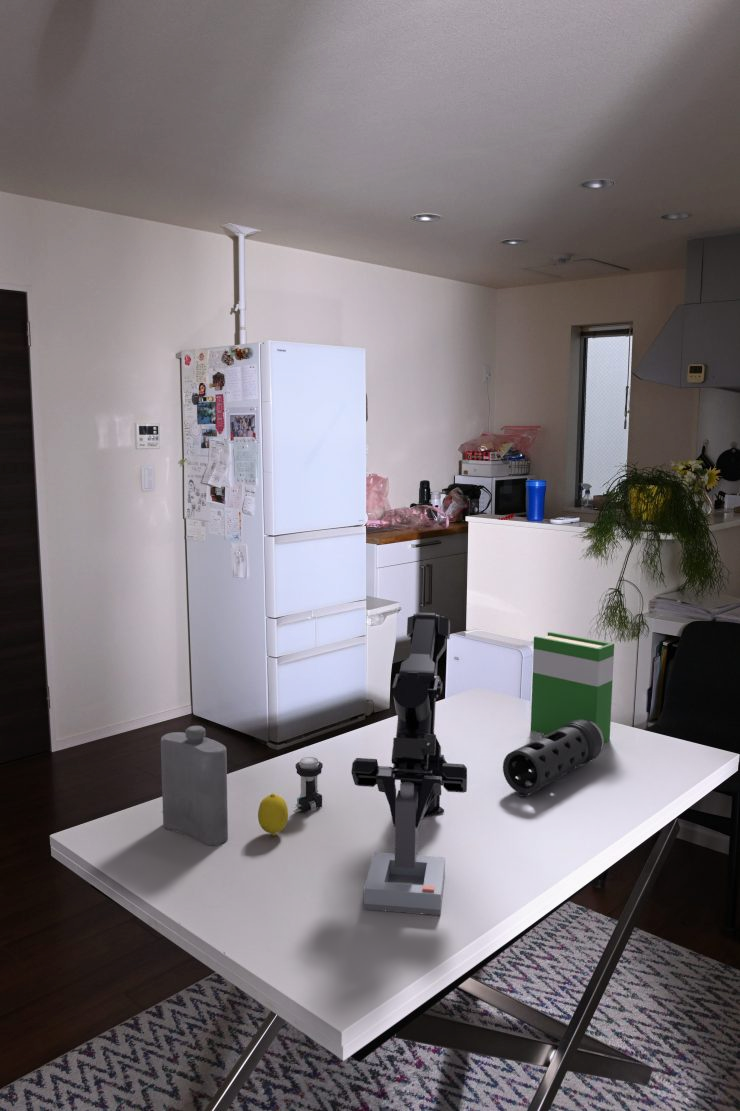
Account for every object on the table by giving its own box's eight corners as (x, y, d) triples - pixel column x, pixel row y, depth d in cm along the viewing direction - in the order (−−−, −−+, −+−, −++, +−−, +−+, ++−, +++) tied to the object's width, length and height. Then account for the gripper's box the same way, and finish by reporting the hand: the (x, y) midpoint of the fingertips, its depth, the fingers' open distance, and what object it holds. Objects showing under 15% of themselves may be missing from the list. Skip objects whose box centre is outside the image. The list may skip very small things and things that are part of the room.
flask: (236, 836, 161) (235, 732, 158) (213, 849, 157) (211, 741, 154) (181, 815, 170) (178, 716, 167) (157, 826, 165) (154, 724, 162)
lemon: (275, 844, 158) (275, 802, 157) (252, 836, 161) (251, 795, 160) (294, 832, 163) (294, 791, 162) (270, 825, 166) (270, 785, 165)
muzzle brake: (500, 792, 182) (501, 744, 181) (567, 755, 203) (569, 712, 201) (540, 805, 176) (542, 756, 174) (605, 766, 197) (608, 721, 195)
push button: (301, 818, 169) (300, 769, 167) (284, 809, 173) (284, 761, 171) (328, 809, 173) (328, 760, 172) (311, 800, 177) (311, 753, 176)
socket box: (374, 871, 149) (374, 849, 148) (444, 876, 147) (445, 855, 147) (363, 909, 137) (364, 886, 137) (440, 915, 136) (441, 892, 135)
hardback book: (530, 730, 219) (533, 636, 216) (546, 723, 225) (549, 631, 221) (594, 748, 207) (599, 649, 204) (609, 740, 213) (614, 643, 209)
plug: (397, 853, 144) (398, 778, 142) (417, 855, 144) (418, 779, 142) (394, 866, 140) (395, 789, 138) (414, 868, 139) (415, 790, 137)
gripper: (353, 711, 143) (341, 803, 134) (468, 717, 141) (464, 812, 132) (360, 740, 152) (349, 828, 143) (468, 746, 150) (464, 837, 140)
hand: (405, 826), depth 139 cm, fingers closed on plug, 3 cm apart
